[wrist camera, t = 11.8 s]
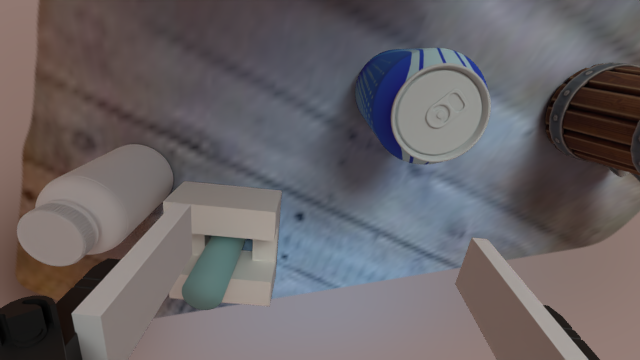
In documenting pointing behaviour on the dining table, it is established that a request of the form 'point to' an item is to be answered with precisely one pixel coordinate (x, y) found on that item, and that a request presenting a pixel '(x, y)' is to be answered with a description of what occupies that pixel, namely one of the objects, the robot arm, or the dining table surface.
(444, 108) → the beer can
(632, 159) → the mug
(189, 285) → the peg
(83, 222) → the pill bottle
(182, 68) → the dining table surface
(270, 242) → the socket
